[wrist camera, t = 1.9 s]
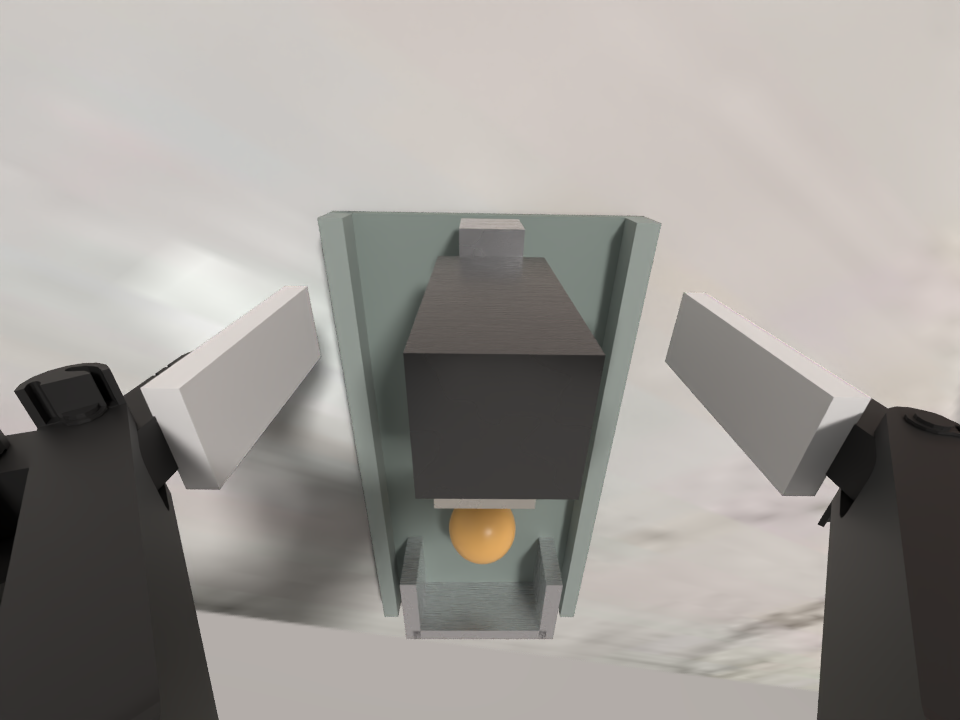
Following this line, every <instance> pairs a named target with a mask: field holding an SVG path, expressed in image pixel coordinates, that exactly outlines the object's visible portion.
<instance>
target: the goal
mask: <svg viewBox="0 0 960 720" xmlns="http://www.w3.org/2000/svg"><path fill="white" fill-rule="evenodd" d="M562 587H563V584H562V579H561V574H560V569H559V564H558V559H557V553H556V548H555V543H554V538H553V537H539V540H538V548H537V556H536V563H535V571H534V579H533V582H426V573H425V560H424V547H423V537H408V540H407V546H406V552H405V557H404V563H403V569H402V574H401V580H400V592H401V599H402V607H403V615H404V623H405V630H406V638H407V639H553V635H554V629H555V624H556V619H557V614H558V608H559V603H560V598H561V592H562Z"/></svg>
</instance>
